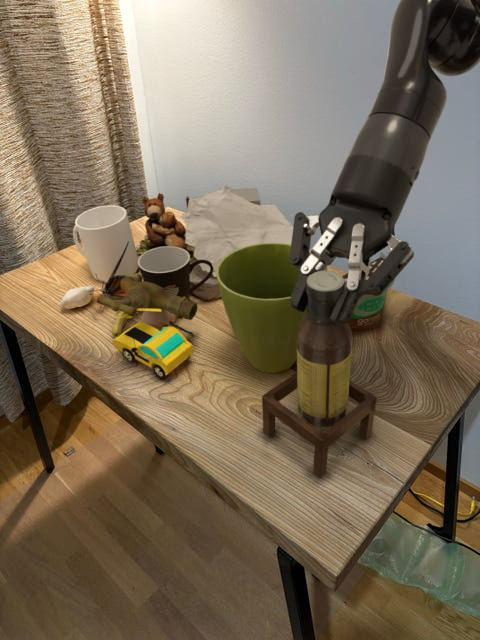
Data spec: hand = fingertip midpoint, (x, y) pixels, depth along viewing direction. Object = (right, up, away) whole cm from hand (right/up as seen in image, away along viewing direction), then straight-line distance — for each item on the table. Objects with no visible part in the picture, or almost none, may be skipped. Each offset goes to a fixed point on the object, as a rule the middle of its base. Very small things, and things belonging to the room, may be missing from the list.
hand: (316, 316), depth 57 cm
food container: (+13, -1, +32) cm, 34 cm away
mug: (-34, +9, +49) cm, 60 cm away
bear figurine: (-22, +13, +52) cm, 58 cm away
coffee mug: (-19, +1, +37) cm, 42 cm away
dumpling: (-37, +2, +40) cm, 54 cm away
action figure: (-20, +4, +32) cm, 38 cm away
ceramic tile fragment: (-18, +5, +39) cm, 43 cm away
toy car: (-21, -6, +27) cm, 35 cm away
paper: (-9, +26, +45) cm, 53 cm away
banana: (-29, 0, +34) cm, 45 cm away
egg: (-20, +2, +34) cm, 40 cm away
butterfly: (-34, +5, +39) cm, 52 cm away
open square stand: (+2, -15, +13) cm, 20 cm away
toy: (-7, +16, +48) cm, 51 cm away
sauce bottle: (+2, -12, +11) cm, 16 cm away
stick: (-17, -1, +29) cm, 34 cm away
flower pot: (-3, -6, +26) cm, 27 cm away
